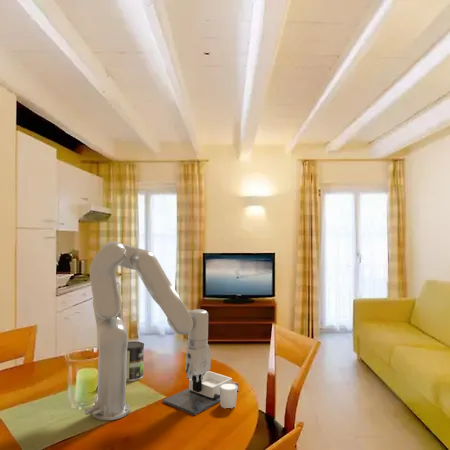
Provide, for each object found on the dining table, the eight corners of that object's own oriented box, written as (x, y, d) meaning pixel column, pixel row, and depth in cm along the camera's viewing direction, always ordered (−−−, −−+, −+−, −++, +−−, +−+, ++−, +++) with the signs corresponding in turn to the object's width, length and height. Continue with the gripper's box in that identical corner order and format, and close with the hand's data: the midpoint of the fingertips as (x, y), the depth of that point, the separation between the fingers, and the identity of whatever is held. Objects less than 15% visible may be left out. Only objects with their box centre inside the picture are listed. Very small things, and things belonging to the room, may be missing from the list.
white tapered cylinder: (215, 406, 138) (215, 387, 138) (224, 399, 144) (224, 381, 144) (232, 411, 135) (232, 391, 135) (240, 403, 141) (240, 384, 141)
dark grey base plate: (194, 415, 131) (194, 405, 131) (163, 402, 141) (163, 392, 141) (238, 391, 152) (238, 383, 152) (208, 381, 161) (208, 373, 162)
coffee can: (145, 372, 170) (146, 341, 171) (140, 381, 160) (140, 348, 160) (123, 372, 170) (123, 340, 171) (116, 381, 160) (116, 347, 160)
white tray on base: (213, 399, 141) (214, 388, 141) (187, 389, 150) (187, 379, 150) (233, 389, 151) (233, 378, 151) (207, 380, 159) (207, 370, 159)
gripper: (191, 349, 136) (190, 400, 136) (217, 340, 148) (217, 387, 148) (177, 345, 141) (176, 394, 140) (203, 336, 153) (202, 382, 152)
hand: (197, 390), depth 144 cm, fingers closed
